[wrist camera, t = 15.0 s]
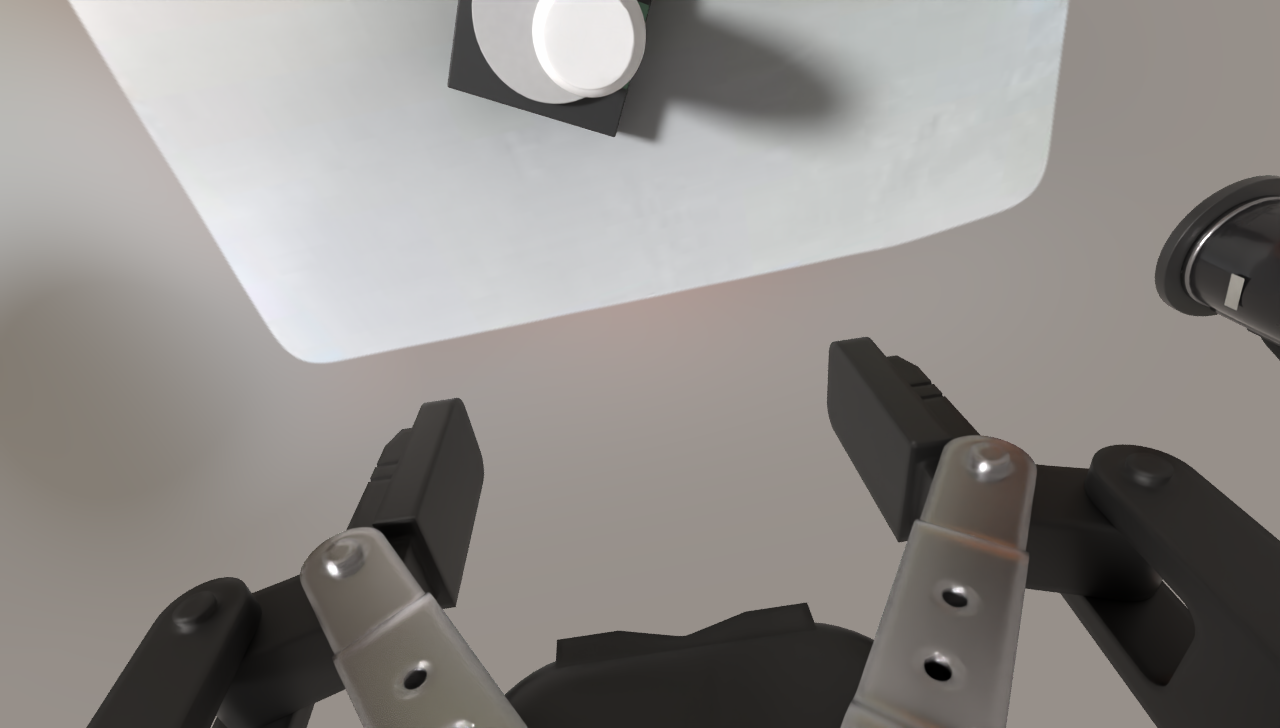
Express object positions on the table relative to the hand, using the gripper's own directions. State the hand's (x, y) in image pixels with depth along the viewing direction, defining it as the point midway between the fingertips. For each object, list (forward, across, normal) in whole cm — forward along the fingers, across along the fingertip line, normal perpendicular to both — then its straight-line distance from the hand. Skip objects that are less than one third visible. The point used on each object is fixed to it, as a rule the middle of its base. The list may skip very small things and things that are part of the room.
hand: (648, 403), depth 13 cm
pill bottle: (+27, 0, -6) cm, 28 cm away
